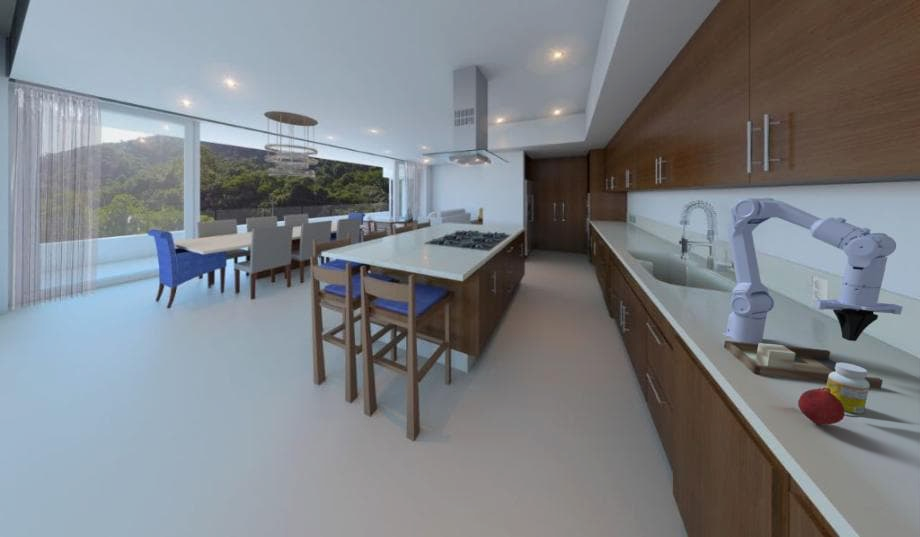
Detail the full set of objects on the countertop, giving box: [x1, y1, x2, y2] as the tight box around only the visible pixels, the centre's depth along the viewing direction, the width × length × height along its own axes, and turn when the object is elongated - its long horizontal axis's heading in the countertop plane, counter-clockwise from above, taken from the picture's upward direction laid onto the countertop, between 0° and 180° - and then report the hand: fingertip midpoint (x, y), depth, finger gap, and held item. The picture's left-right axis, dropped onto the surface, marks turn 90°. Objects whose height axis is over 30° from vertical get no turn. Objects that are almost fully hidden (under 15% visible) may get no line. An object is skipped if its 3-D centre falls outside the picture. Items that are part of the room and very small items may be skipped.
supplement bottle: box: [825, 362, 871, 418], centre depth 65 cm, size 5×5×10 cm
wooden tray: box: [723, 340, 883, 389], centre depth 82 cm, size 16×23×3 cm
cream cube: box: [756, 342, 795, 369], centre depth 81 cm, size 5×5×5 cm
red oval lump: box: [797, 386, 845, 426], centre depth 61 cm, size 6×6×8 cm
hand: (848, 339), depth 77 cm, fingers closed
